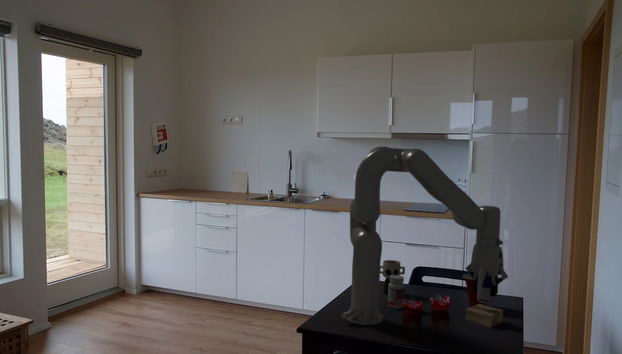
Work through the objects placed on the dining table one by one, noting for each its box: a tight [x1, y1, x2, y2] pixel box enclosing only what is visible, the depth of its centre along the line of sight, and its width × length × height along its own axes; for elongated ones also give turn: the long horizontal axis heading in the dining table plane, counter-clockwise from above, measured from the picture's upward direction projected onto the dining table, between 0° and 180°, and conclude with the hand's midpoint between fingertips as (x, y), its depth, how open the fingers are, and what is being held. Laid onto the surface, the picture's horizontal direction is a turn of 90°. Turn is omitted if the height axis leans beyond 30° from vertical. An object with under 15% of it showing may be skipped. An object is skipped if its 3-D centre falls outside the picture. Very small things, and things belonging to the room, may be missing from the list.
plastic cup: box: [462, 273, 487, 308], centre depth 182 cm, size 11×11×12 cm
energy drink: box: [477, 268, 495, 305], centre depth 165 cm, size 5×5×12 cm
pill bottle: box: [387, 274, 406, 310], centre depth 179 cm, size 6×6×11 cm
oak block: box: [465, 304, 504, 328], centre depth 166 cm, size 9×9×4 cm
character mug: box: [380, 259, 406, 294], centre depth 196 cm, size 11×7×13 cm, turn 86°
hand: (485, 293), depth 165 cm, fingers closed on energy drink, 5 cm apart
